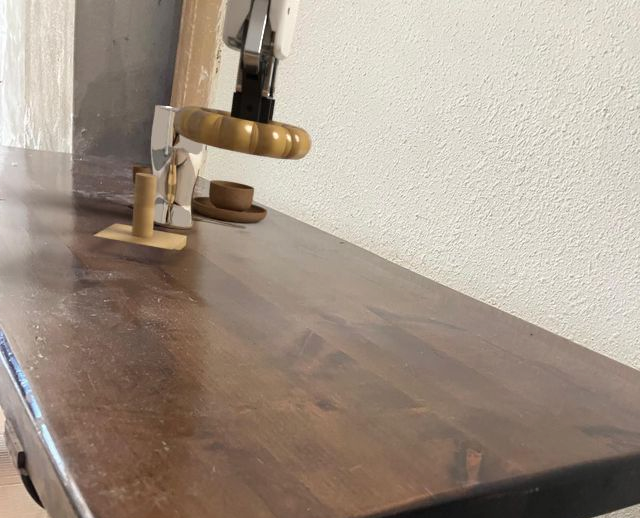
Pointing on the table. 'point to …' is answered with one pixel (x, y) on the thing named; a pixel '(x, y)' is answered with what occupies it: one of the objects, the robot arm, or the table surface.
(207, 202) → the place setting
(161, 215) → the beer glass
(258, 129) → the ring
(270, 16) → the robot arm
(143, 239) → the post
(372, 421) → the table surface
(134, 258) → the table surface
